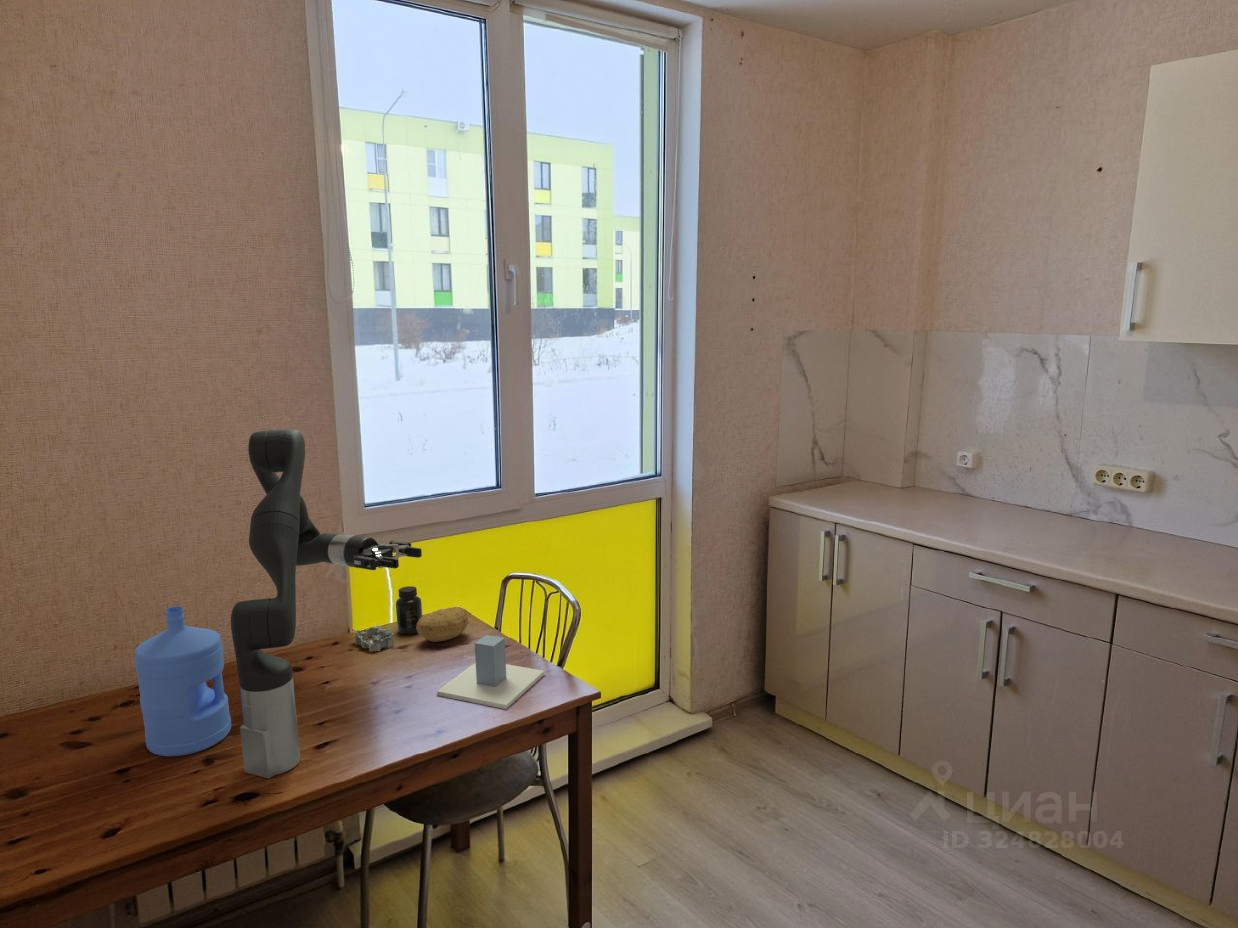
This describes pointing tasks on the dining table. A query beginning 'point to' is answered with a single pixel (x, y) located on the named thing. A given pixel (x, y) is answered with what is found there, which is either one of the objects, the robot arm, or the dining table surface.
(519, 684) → the cream tile
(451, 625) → the potato
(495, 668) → the slate block
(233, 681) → the dining table surface
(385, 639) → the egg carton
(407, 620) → the supplement bottle
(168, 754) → the water jug
